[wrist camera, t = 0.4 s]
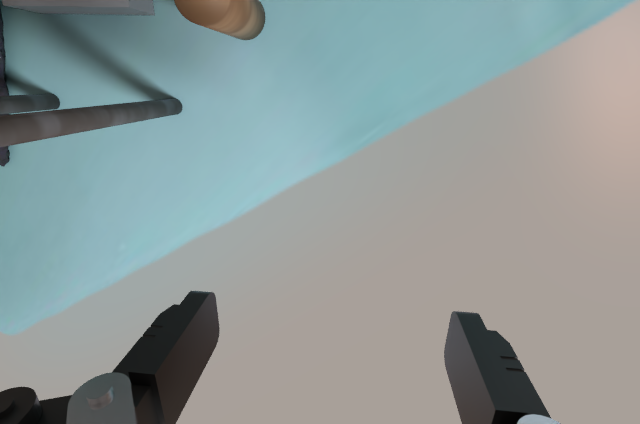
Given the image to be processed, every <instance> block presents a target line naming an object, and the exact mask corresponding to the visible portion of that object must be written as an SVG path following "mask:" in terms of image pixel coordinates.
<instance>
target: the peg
mask: <svg viewBox="0 0 640 424" xmlns="http://www.w3.org/2000/svg"><path fill="white" fill-rule="evenodd" d="M174 1H175V4H176V6H177V8H178V10H179V11H180V13H181V14H182V15H183V16H184V17H185V18H186V19H188V20H189V21H191V22H193V23H195V24H198V25H201V26H204V27H207V28H210V29H212V30H215V31H218V32H221V33H224V34H227V35H230V36H233V37H235V38H238V39H242V40H250V39H253V38H255V37H257V36H258V35H259V34H260V33H261V31H262V29H263V27H264V24H265V12H264V8H263V6H262V4H261V2H260V1H259V0H174Z"/></svg>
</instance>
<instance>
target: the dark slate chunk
mask: <svg viewBox="0 0 640 424" xmlns="http://www.w3.org/2000/svg"><path fill="white" fill-rule="evenodd" d="M0 11H1V9H0ZM2 31H3V22H2V19H1V13H0V96H9V94H8V90H7V87H6V83H5V80H4V70H5V59H4V56H5V51H4V47H3V41H4V40H3V36H2ZM5 57H6V56H5ZM2 115H9V114H0V116H2ZM9 154H10V153H9V150H8V146H4V147H0V165H1V166H5V164H6V163H7V162H8V161H9V159H8V156H9Z"/></svg>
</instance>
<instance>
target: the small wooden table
mask: <svg viewBox="0 0 640 424" xmlns="http://www.w3.org/2000/svg"><path fill="white" fill-rule="evenodd" d="M59 106H60V102H59V99H58V98H57V96H55V95H54V94H36V95H13V96H0V114H9V113H19V112H30V111H40V110H51V109H57V108H58V107H59ZM181 111H182V104H181V102H180V101H179V100H178V99H163V100H153V101H143V102H133V103H123V104H113V105H103V106H93V107H83V108H73V109H63V110H52V111H42V112H32V113H22V114H12V115H2V116H0V147H4V146H10V145H15V144H20V143H26V142H31V141H36V140H42V139H47V138H52V137H58V136H63V135H68V134H74V133H79V132H84V131H90V130H95V129H100V128H106V127H111V126H116V125H122V124H127V123H132V122H138V121H143V120H148V119H154V118H159V117H164V116H170V115H175V114H179V113H180V112H181Z"/></svg>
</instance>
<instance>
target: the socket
mask: <svg viewBox="0 0 640 424" xmlns="http://www.w3.org/2000/svg"><path fill="white" fill-rule="evenodd" d="M2 3H3V6H8V7H13V8H18V9H22V10H27V11H32V12H37V13H45V14H105V15H155V14H154V6H153V0H2Z"/></svg>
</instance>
